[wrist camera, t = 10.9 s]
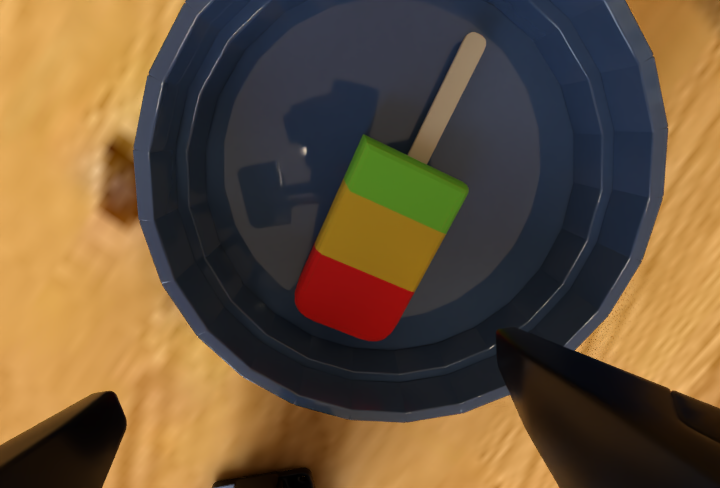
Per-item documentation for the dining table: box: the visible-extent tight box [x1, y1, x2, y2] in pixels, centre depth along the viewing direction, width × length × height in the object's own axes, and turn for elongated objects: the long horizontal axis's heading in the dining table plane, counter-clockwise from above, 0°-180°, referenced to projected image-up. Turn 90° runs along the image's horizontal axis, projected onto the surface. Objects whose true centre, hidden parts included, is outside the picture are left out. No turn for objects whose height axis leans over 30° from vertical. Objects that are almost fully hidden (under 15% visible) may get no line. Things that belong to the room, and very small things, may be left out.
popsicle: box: [295, 32, 486, 341], centre depth 18 cm, size 6×15×2 cm, turn 155°
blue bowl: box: [133, 0, 668, 423], centre depth 17 cm, size 20×20×5 cm
